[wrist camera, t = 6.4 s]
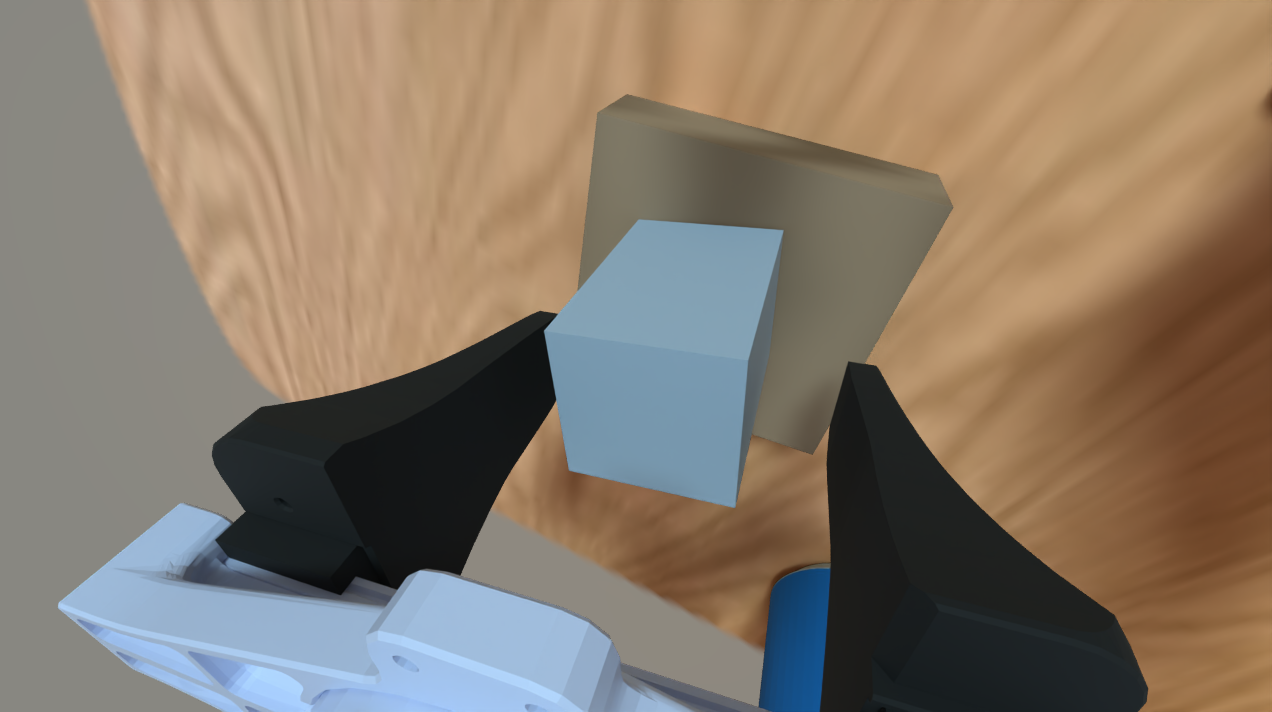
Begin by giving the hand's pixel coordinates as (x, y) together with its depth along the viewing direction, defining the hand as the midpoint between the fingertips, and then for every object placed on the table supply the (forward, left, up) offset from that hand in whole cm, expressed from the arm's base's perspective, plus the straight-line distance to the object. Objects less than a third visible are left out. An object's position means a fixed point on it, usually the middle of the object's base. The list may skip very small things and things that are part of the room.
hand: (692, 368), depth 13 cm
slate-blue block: (0, 0, -3) cm, 3 cm away
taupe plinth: (0, 0, -6) cm, 6 cm away
